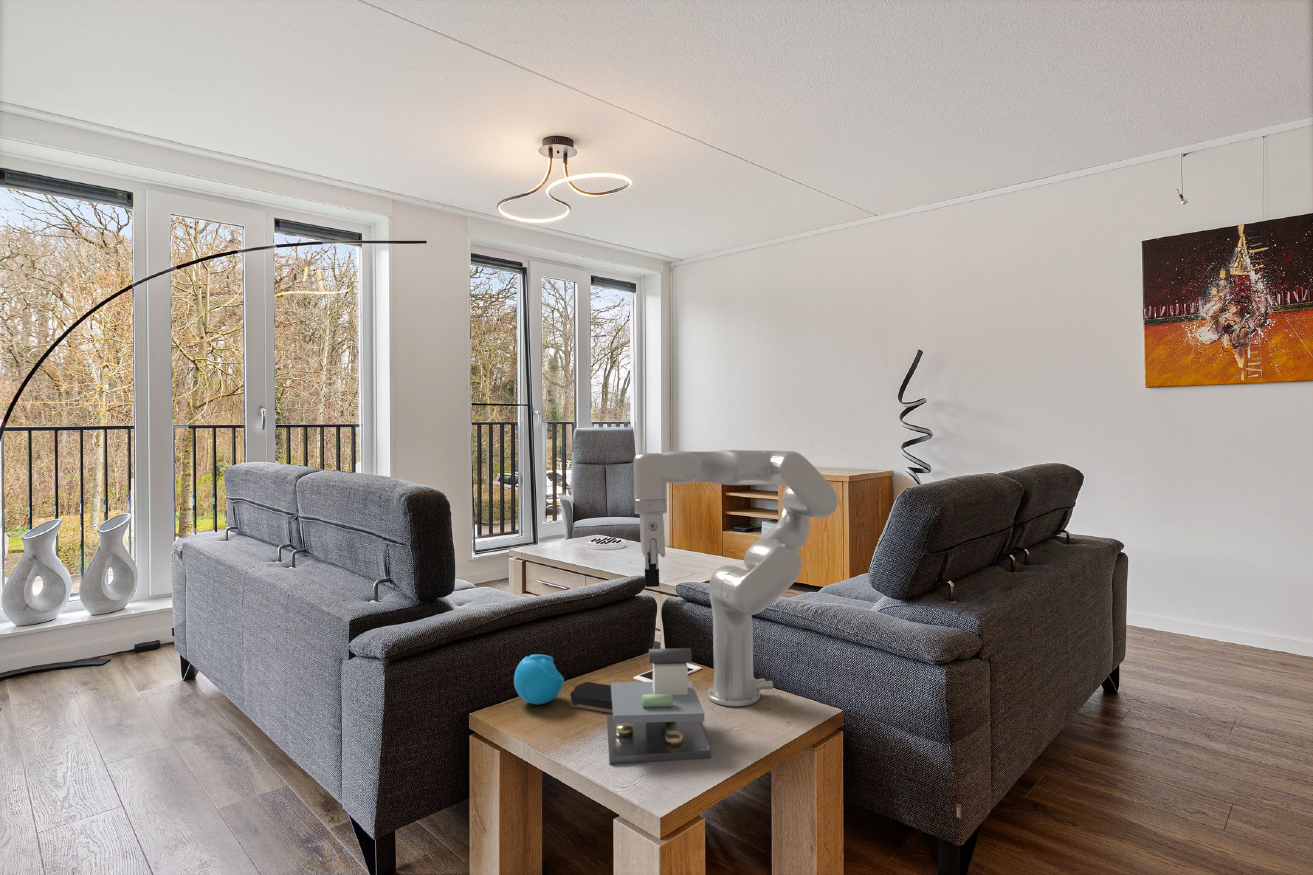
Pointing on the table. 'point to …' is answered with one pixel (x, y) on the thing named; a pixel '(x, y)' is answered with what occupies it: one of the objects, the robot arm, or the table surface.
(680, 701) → the plate
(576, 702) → the black sponge
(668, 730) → the levelling stand
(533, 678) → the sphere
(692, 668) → the cell phone
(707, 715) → the table surface
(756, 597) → the robot arm
